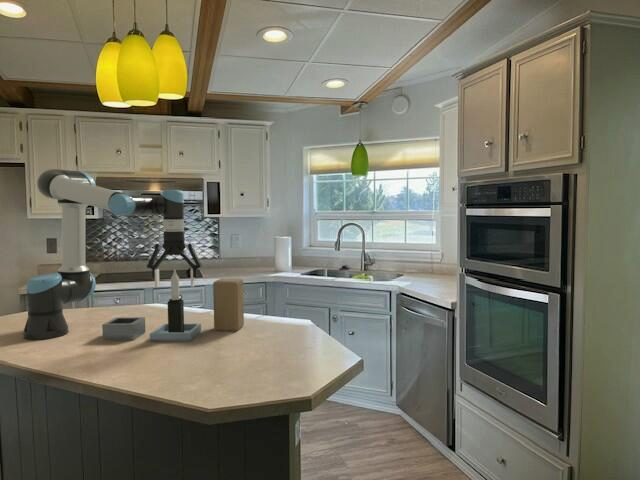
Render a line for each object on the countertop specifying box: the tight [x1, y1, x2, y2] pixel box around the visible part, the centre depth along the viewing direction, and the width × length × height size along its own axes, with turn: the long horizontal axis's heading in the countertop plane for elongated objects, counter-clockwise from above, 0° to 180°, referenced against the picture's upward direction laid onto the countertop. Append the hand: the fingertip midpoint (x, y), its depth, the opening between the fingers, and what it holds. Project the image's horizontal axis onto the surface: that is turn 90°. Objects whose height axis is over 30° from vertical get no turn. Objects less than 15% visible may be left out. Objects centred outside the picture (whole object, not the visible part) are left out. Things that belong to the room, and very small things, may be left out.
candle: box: [167, 268, 185, 333], centre depth 175 cm, size 5×5×25 cm
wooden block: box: [212, 277, 245, 332], centre depth 186 cm, size 10×10×20 cm
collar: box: [101, 316, 146, 342], centre depth 176 cm, size 12×12×6 cm
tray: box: [149, 322, 202, 343], centre depth 176 cm, size 15×15×3 cm
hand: (175, 286), depth 175 cm, fingers open, 13 cm apart
